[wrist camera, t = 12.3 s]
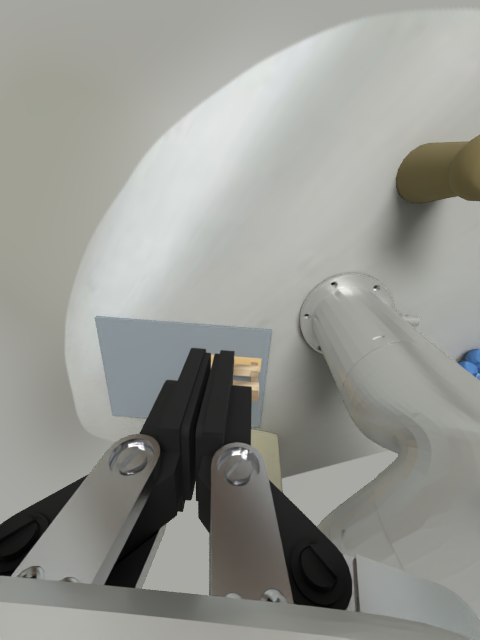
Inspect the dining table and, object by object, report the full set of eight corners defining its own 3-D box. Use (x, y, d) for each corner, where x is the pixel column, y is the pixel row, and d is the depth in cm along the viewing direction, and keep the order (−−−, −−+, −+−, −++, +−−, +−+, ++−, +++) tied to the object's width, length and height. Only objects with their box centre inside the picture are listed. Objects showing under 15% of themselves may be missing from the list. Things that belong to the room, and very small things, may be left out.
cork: (424, 213, 32) (499, 221, 22) (384, 185, 31) (445, 181, 21) (465, 162, 30) (570, 146, 20) (424, 130, 29) (513, 97, 19)
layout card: (271, 329, 40) (271, 331, 39) (259, 427, 48) (259, 430, 47) (96, 316, 40) (94, 317, 40) (114, 415, 48) (112, 417, 48)
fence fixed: (258, 358, 42) (259, 397, 34) (257, 367, 43) (258, 407, 35) (198, 354, 42) (185, 391, 34) (198, 362, 43) (185, 401, 35)
